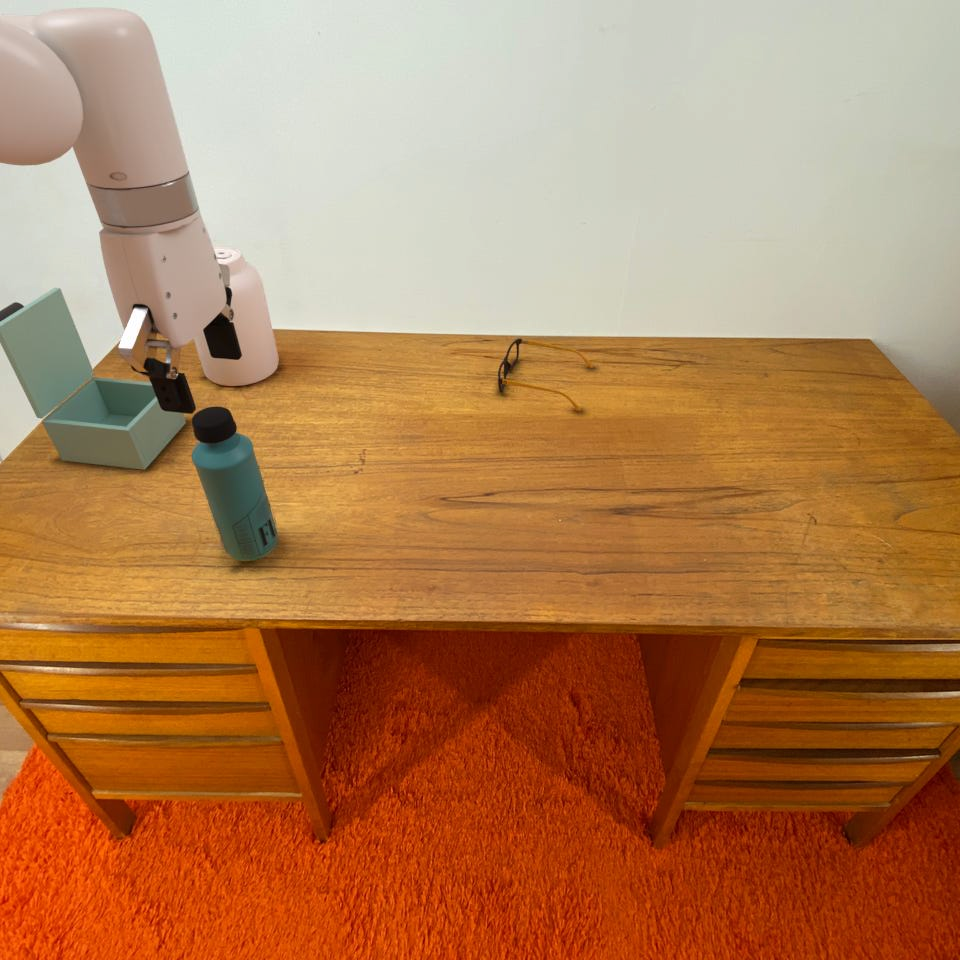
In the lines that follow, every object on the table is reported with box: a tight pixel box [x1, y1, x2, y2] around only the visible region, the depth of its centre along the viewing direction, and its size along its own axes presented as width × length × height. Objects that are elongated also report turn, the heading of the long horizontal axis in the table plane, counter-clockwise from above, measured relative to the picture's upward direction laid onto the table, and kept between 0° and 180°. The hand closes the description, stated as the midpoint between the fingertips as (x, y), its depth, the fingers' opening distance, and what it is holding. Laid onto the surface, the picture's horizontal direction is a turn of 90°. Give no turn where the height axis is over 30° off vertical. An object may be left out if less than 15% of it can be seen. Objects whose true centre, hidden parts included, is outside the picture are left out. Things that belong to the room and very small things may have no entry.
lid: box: [0, 287, 95, 419], centre depth 86 cm, size 13×12×6 cm
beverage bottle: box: [191, 405, 279, 562], centre depth 71 cm, size 6×7×20 cm
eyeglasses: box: [497, 338, 594, 412], centre depth 107 cm, size 14×14×4 cm
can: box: [193, 245, 280, 387], centre depth 104 cm, size 12×12×20 cm
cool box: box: [41, 376, 187, 471], centre depth 92 cm, size 13×12×7 cm
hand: (204, 382), depth 62 cm, fingers open, 9 cm apart
